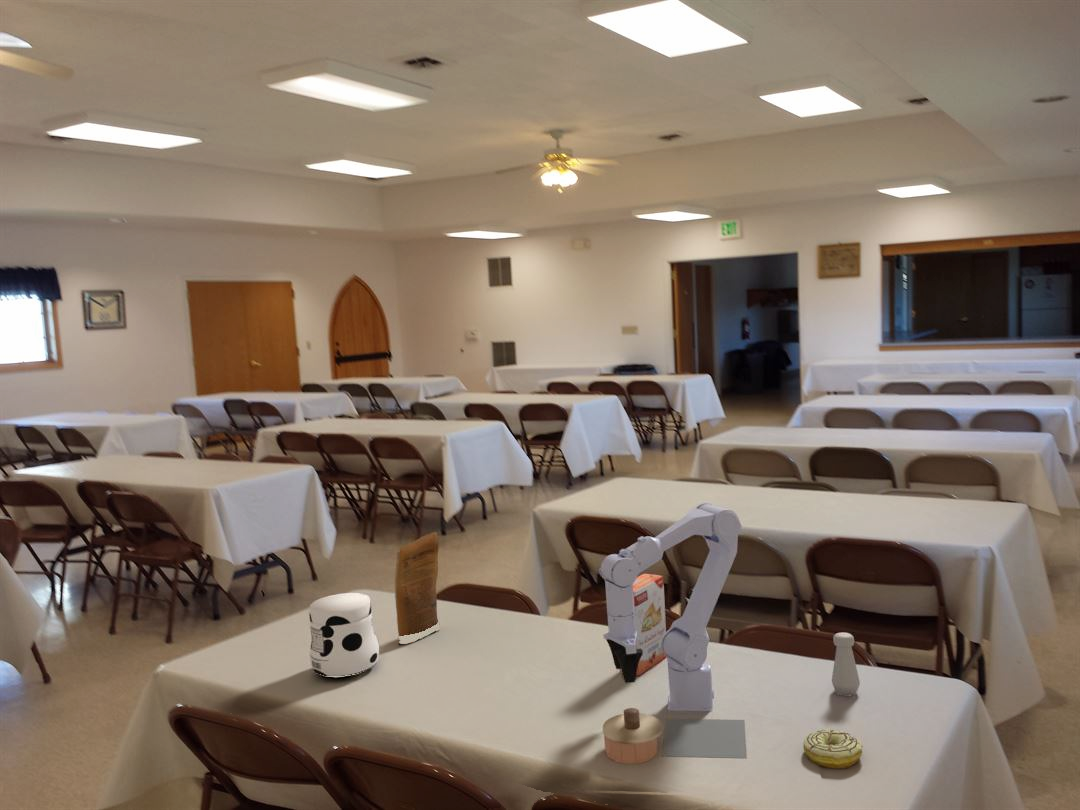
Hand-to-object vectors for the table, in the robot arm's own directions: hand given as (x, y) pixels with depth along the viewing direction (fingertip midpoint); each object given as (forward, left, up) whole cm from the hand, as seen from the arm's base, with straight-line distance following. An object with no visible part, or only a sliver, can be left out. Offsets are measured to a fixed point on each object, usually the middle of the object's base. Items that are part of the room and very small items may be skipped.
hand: (625, 675), depth 190 cm
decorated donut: (-40, +14, -10) cm, 44 cm away
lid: (-3, +14, -5) cm, 15 cm away
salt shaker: (-46, -15, -10) cm, 49 cm away
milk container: (+75, -26, -10) cm, 80 cm away
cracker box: (-1, -30, -10) cm, 32 cm away
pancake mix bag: (+63, -50, -10) cm, 81 cm away
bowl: (-2, +14, -10) cm, 17 cm away
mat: (-16, +8, -10) cm, 20 cm away
